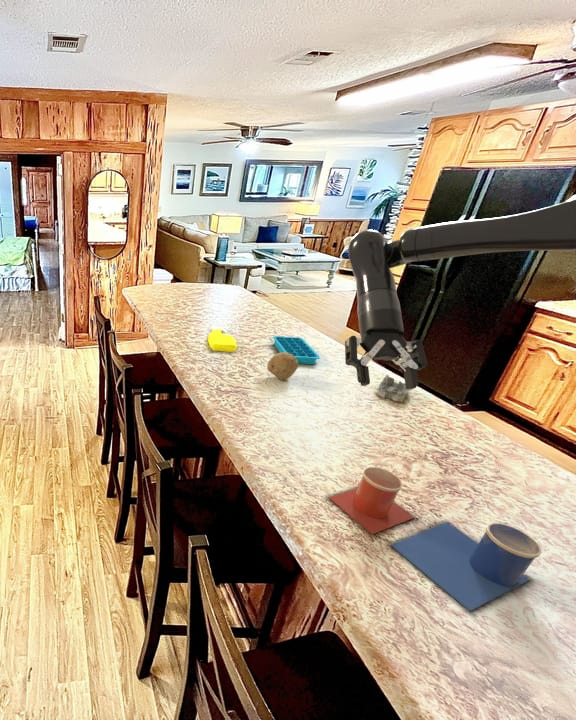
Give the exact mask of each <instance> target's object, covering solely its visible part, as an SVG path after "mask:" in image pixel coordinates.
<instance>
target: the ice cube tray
mask: <svg viewBox="0 0 576 720" xmlns="http://www.w3.org/2000/svg"><path fill="white" fill-rule="evenodd" d="M272 339H273V340H274V347H275V348H276V350H278V353H280V352H287V353H290V354H292V355H293V356H294V357H295V358H296V359H297V361H298V364H300V365H301V364H303V365H315V364H316V362H317V360H319V359H320V358H321V356H320V354H318V353H317V352H316V351H315V350H314V348H312V347H311V346H310V345H309V343H308V342H306V340H305V339H304V338H303V337H299V336H277V335H275V336H273V337H272Z"/></svg>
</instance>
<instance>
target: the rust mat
mask: <svg viewBox="0 0 576 720" xmlns="http://www.w3.org/2000/svg"><path fill="white" fill-rule="evenodd" d="M357 489H358V487H356V488H354V489H350V490H348V491H347V490H346V491H344V492H340V493H338V494H334V495H332V496H329V497H328V499H329V500H330V501H331V502H333V504H334V505H336V506H337V507H339V509H341V510H342V511H343V512H344V513H346V515H348V516H349V517H351V518H352V519H353V520H354V521H355V522H356V523H358V524H359V525H360V526H361V527H362V528H364V529H365V530H366V531H367V532H368V533H369V534H370V535H374V534H377V533H379V532H382V531H384V530H387V529H390V528H392V527H395V526H397V525H400V524H402V523H405V522H408V521H411V520H413V519H415V517H414V516H413V515H412V514H411V513H410V512H408V511H406V510H405V509H404V508H402V507H401V506H400V505H398V504H397V503H395V501H394V502H393V504H392V506H391V509H390V511H389V513H388V515H387V516H386V517H385V518H373V517H370V516H368V515H366V514H364V513H362V512H361V511H359V510H358V509H357V508H356V507H355V505H354V503H353V499H354V496H355V494H356V491H357Z"/></svg>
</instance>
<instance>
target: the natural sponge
mask: <svg viewBox="0 0 576 720" xmlns="http://www.w3.org/2000/svg"><path fill="white" fill-rule="evenodd" d="M298 367H299V363H298V361H297V359H296V358H295V357H294V356H293V355H292V354H290V353H287V352H277V353H275V354H274V355H273V356H272V357H271V358H270V359H269V361H268V362H267V371H268V372H269V373H271V374H272V375H273V376H274V377H276V379H277V380H280V381H285V380H288V379H290V378H291V377H293V375H294V374H295V372H296V371H297V369H298Z"/></svg>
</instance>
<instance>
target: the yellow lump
mask: <svg viewBox="0 0 576 720" xmlns="http://www.w3.org/2000/svg"><path fill="white" fill-rule="evenodd" d="M210 330H211V332H210V333H209V335H208V337H207V341H208V344H209V347H210V349H211V350H213V351H214V352H227V353H234V352H235V351H236V350H237V347H238V344H237V341H236V339H235V337H234V336H232V335H230V334H226V333H228V331H227V330H228V327H227V326H210ZM223 332H225V333H223Z"/></svg>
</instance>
